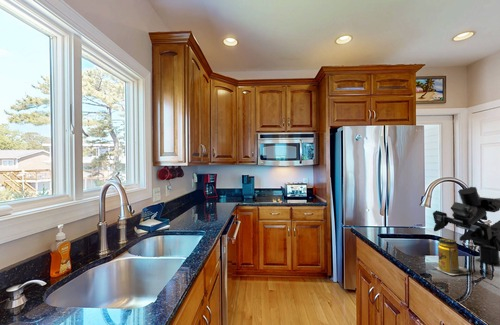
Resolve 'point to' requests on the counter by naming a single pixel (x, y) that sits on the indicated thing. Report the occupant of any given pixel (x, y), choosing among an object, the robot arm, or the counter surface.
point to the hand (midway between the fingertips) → (446, 234)
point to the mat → (461, 269)
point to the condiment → (448, 257)
